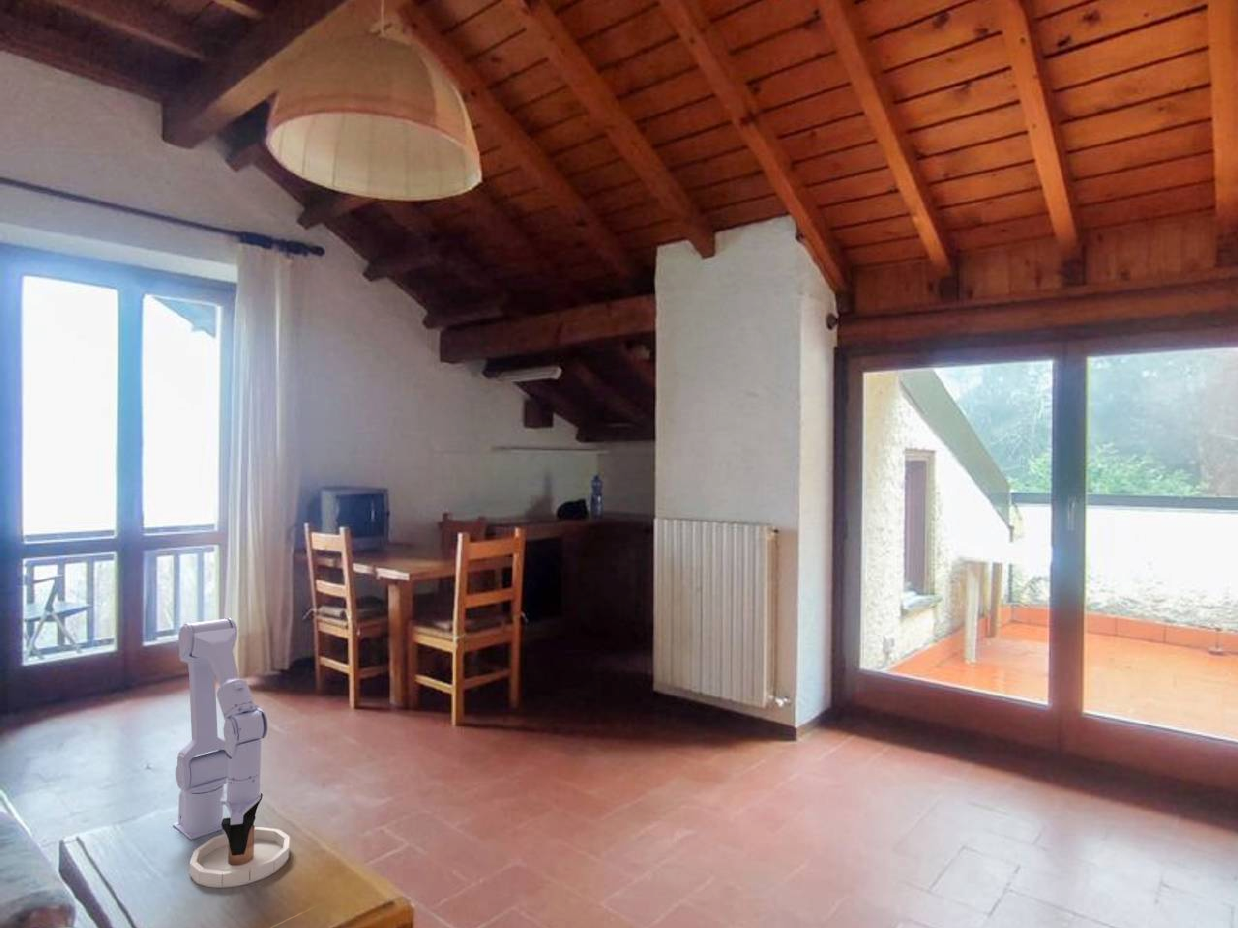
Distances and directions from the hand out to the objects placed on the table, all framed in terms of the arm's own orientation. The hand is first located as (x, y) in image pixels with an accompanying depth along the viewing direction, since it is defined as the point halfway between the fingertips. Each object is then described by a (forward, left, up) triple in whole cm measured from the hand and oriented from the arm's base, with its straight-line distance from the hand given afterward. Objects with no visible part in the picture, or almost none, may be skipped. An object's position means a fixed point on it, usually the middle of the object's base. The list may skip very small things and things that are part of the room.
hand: (241, 843), depth 141 cm
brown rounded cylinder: (0, 0, -3) cm, 3 cm away
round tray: (0, 0, -4) cm, 4 cm away
